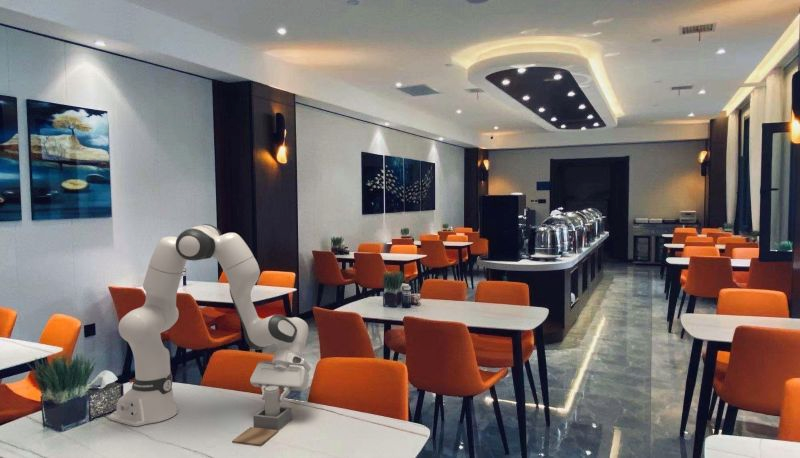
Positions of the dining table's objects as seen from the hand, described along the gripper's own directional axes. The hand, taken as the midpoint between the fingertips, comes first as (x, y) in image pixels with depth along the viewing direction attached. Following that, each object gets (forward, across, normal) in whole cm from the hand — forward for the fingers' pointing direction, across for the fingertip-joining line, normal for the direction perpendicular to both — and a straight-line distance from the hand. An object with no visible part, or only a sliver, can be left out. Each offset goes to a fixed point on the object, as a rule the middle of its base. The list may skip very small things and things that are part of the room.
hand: (271, 400), depth 176 cm
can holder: (+6, 0, +6) cm, 8 cm away
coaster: (+13, 0, -2) cm, 13 cm away
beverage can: (+6, 0, +6) cm, 8 cm away
